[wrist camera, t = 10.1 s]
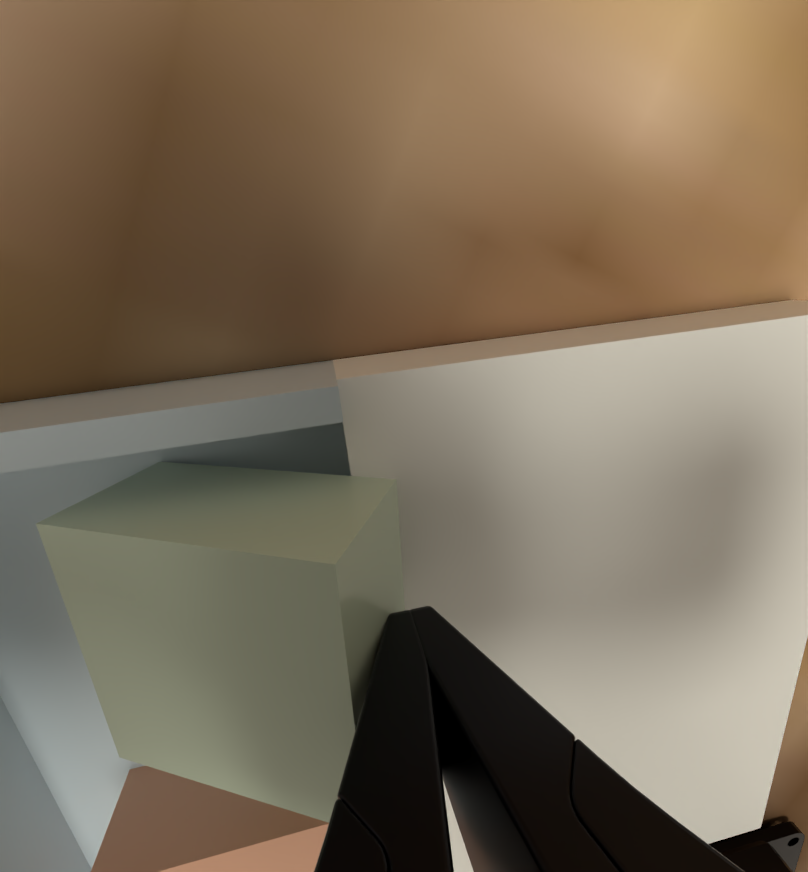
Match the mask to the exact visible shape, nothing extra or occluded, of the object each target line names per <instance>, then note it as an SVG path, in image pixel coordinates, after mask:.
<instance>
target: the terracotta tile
mask: <svg viewBox="0 0 808 872" xmlns="http://www.w3.org/2000/svg"><path fill="white" fill-rule="evenodd" d="M328 825H329V823H328V822H325V821H322V820H319V819H316V818H312V817H309V816H306V815H303V814H299V813H296V812H293V811H290V810H287V809H283V808H280V807H277V806H274V805H271V804H267V803H264V802H261V801H258V800H255V799H251V798H248V797H245V796H242V795H239V794H235V793H232V792H229V791H226V790H222V789H219V788H216V787H213V786H210V785H206V784H203V783H200V782H197V781H194V780H190V779H187V778H184V777H181V776H178V775H174V774H171V773H168V772H165V771H161V770H158V769H155V768H152V767H149V766H141V767H137V768H133V769H130V770H129V772H128V775H127V778H126V780H125V783H124V786H123V788H122V791H121V794H120V796H119V799H118V801H117V804H116V807H115V809H114V812H113V815H112V817H111V820H110V822H109V825H108V828H107V830H106V833H105V836H104V838H103V841H102V844H101V846H100V849H99V851H98V854H97V857H96V859H95V862H94V865H93V867H92V870H91V872H314V870H315V867H316V864H317V860H318V857H319V854H320V851H321V848H322V844H323V841H324V838H325V835H326V832H327V828H328Z"/></svg>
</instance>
